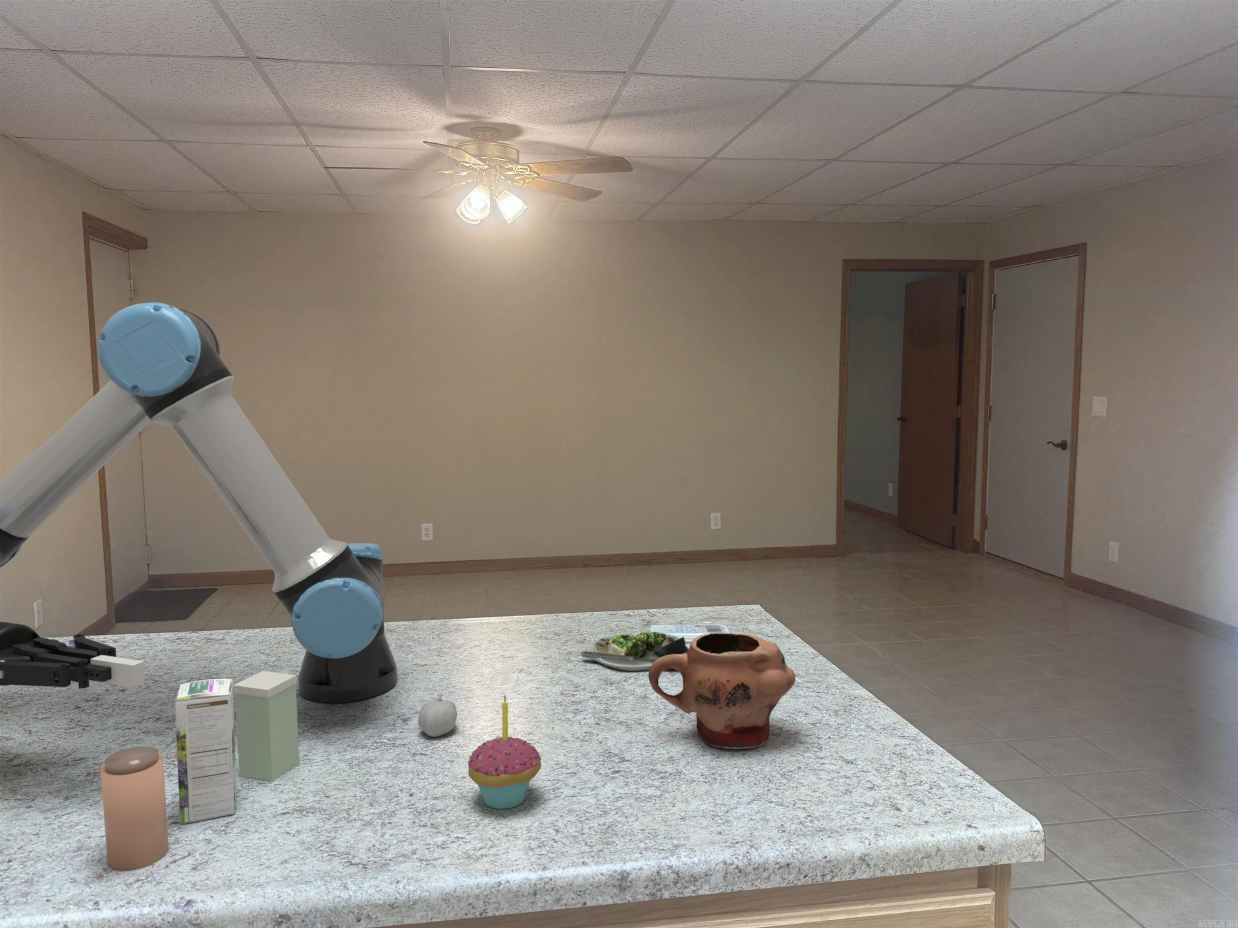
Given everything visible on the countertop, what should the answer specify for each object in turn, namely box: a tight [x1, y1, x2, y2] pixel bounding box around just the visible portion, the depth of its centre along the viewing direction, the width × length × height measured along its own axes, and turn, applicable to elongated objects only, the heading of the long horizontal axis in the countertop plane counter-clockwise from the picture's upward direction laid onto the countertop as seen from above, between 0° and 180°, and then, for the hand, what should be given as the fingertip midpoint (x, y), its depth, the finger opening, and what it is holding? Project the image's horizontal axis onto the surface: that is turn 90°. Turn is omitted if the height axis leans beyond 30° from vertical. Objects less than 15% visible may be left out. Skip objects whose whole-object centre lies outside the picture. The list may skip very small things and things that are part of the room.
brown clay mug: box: [648, 632, 796, 750], centre depth 115 cm, size 20×12×14 cm, turn 97°
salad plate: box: [580, 631, 689, 672], centre depth 148 cm, size 19×18×5 cm
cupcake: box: [467, 694, 542, 810], centre depth 99 cm, size 9×8×12 cm
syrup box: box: [174, 678, 238, 825], centre depth 97 cm, size 6×6×14 cm
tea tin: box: [233, 670, 300, 783], centre depth 106 cm, size 5×5×12 cm
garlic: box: [417, 693, 458, 738], centre depth 118 cm, size 6×5×5 cm
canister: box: [100, 745, 170, 872], centre depth 88 cm, size 6×6×11 cm
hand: (139, 674), depth 98 cm, fingers closed
